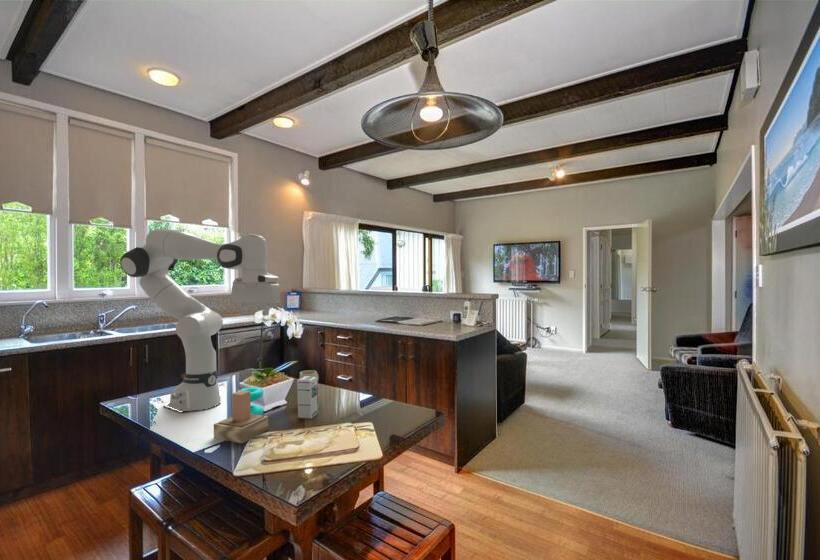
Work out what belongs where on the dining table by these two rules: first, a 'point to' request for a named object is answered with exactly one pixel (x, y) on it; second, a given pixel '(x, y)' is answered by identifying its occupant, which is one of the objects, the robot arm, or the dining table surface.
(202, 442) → the dining table surface
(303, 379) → the syrup box
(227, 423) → the plinth
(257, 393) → the donuts
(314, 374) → the character mug
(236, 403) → the terracotta block
